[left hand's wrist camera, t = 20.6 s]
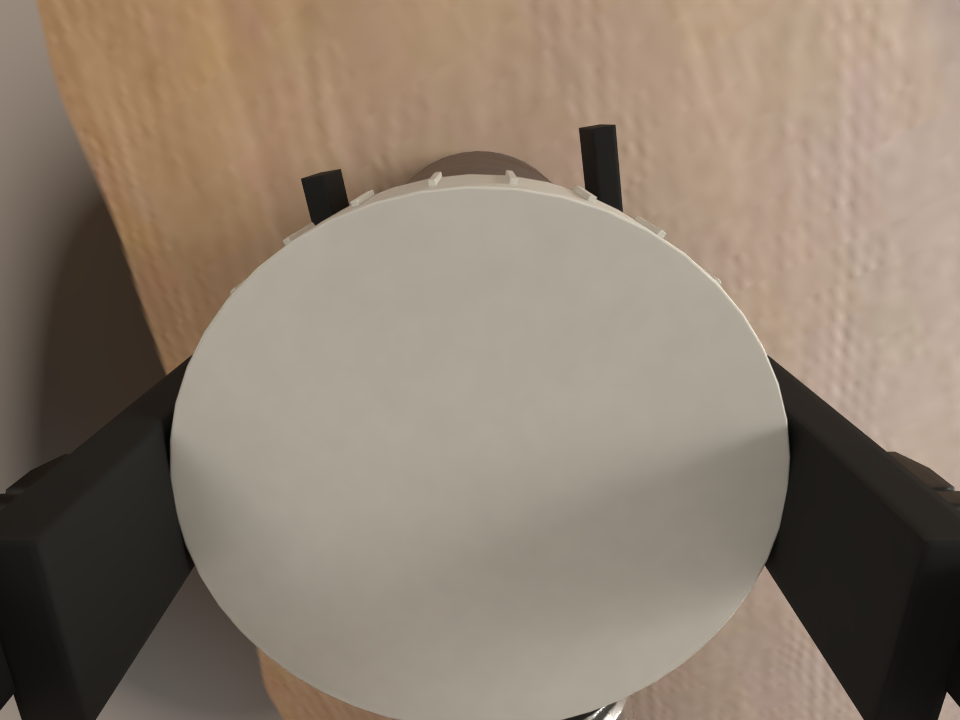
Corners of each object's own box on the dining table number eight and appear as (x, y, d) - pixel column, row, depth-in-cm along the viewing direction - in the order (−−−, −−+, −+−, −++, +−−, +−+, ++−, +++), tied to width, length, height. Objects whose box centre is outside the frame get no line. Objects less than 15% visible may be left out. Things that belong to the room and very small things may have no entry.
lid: (201, 138, 10) (136, 143, 8) (806, 199, 10) (880, 217, 8) (225, 628, 13) (182, 712, 11) (684, 662, 14) (718, 750, 12)
